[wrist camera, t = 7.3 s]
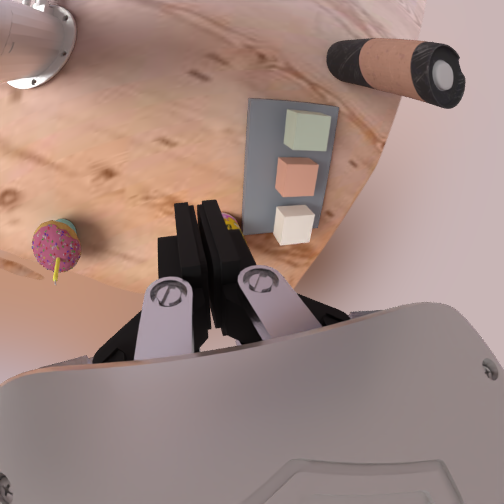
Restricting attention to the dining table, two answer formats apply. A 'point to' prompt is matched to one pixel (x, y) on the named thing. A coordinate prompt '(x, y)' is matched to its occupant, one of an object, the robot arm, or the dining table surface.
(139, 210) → the dining table surface
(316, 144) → the button sage
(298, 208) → the button cream
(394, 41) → the travel mug
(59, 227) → the cupcake
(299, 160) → the button terracotta
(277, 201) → the board
